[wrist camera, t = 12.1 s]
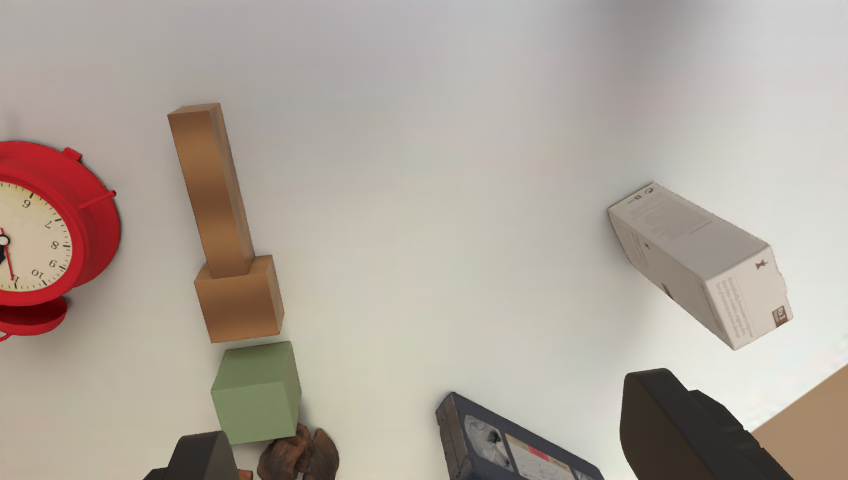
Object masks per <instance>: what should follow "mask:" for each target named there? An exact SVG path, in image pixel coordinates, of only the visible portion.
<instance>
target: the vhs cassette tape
mask: <svg viewBox="0 0 848 480" xmlns="http://www.w3.org/2000/svg"><path fill="white" fill-rule="evenodd" d="M436 417H437V421H438V425H439V426H440V436H441V441H442V445H443V449H444V454H445V459H446V462H447V467H448V473H449V477H450V480H604V478H603V476H602V474H601V473H600V471H599V469H598V468H597V467H595V466H594V465H592V464H590V463H588V462H586V461H585V460H583V459H581V458H579V457H577V456H575V455H573V454H572V453H570V452H568V451H566V450H564V449H562V448H560V447H559V446H557V445H555V444H553V443H551V442H549V441H547V440H545V439H543V438H541V437H539V436H537V435H536V434H534V433H532V432H530V431H528V430H526V429H524V428H522V427H520V426H519V425H517V424H515V423H513V422H511V421H509V420H507V419H505V418H503V417H501V416H499V415H497V414H495V413H494V412H492V411H490V410H488V409H486V408H484V407H482V406H480V405H478V404H476V403H474V402H472V401H470V400H468V399H466V398H464V397H462V396H460V395H458V394H456V393H455V392H452V393H451V394H450V395H449V396H448V397H447V398H446V399H445V400H444V401H443V402H442V404H441V406H440V408H439V409H437V410H436Z"/></svg>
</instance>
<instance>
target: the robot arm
mask: <svg viewBox="0 0 848 480" xmlns="http://www.w3.org/2000/svg"><path fill="white" fill-rule="evenodd" d="M620 440H621V445H622V449H623V452H624V455H625V457H626V459H627V462H628V463H629V465H630V467H631V468H632V470H633V472H634V473H635V475H636V477H637V478H638V480H794V479H793V478H792V477H791V476H790V475H789V474H788V473H787V472H786V471H785V470H784V469H783V468H782V467H781V466H780V465H779V463H777V461H776V460H775V459H774V458H773V457H772V456H771V455H770V454H769V453H768V452H767V451H766V450H765V449H764V448H761V447H760V445H759V442H758V441H757V440H756V439H755V438H754V437H753V436H752V435H751V434H750V433H749V432H748V431H747V430H744V429H743V425H742V424H741V423H740V422H739V421H738V420H737V419H736V418H735V417H734V416H733V415H732V414H731V413H730V412H729V411H728V410H727V408H726V407H725V406H724V405H722V404H720V403H719V402H717V401H715V400H714V399H712V398H710V397H709V396H707V395H705V394H704V393H702V392H701V391H699V390H692V391H688V390H687V389H686V388H685V387H684V386H683V385H682V384H681V382H680V381H679V380H678V379H677V378H676V377H675V376H674V375H673V373H672V372H671V371H669V370H668V369H666V368H659V369H652V370H645V371H638V372H631V373H628V374H627V375H626V376H625V379H624V388H623V399H622V410H621V420H620ZM143 480H240V477H239V474H238V470H237V467H236V463H235V460H234V457H233V453H232V450H231V446H230V443H229V440H228V437H227V434H226V433H225V432H224V431H222V430H221V431H214V432H208V433H201V434H194V435H187V436H182V437H181V438H180V439H179V441H178V443H177V445H176V447H175V450H174V452H173V455H172V457H171V460H170V462H169V465H168V467H166V468H159V469H152V470H151V471H150V473H149V474H148V475H147V476H146V477H145V478H144V479H143Z"/></svg>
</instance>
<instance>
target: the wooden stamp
mask: <svg viewBox="0 0 848 480" xmlns="http://www.w3.org/2000/svg"><path fill="white" fill-rule="evenodd" d="M167 116H168V120H169V123H170V127H171V131H172V134H173V138H174V142H175V146H176V149H177V153H178V157H179V160H180V164H181V168H182V171H183V175H184V179H185V182H186V186H187V190H188V193H189V197H190V201H191V204H192V208H193V212H194V215H195V219H196V223H197V227H198V230H199V234H200V238H201V241H202V245H203V249H204V252H205V256H206V260H207V263H205V264H204V266H203V267H202V269H201V271H200V272H199V274H198V276H197V277H196V279H195V281H194V284H195V288H196V291H197V295H198V298H199V302H200V305H201V309H202V312H203V316H204V319H205V323H206V326H207V330H208V333H209V337H210V340H211V343H219V342H227V341H234V340H241V339H249V338H256V337H264V336H271V335H278V334H280V329H281V325H282V321H283V316H284V309H283V304H282V300H281V295H280V291H279V286H278V281H277V277H276V272H275V267H274V263H273V258H272V255H267V256H259V257H255V254H254V250H253V246H252V241H251V237H250V233H249V228H248V224H247V219H246V215H245V211H244V206H243V202H242V198H241V193H240V189H239V185H238V180H237V176H236V172H235V167H234V163H233V159H232V154H231V150H230V146H229V141H228V137H227V133H226V128H225V124H224V120H223V115H222V111H221V107H220V103H213V104H203V105H193V106H183V107H181V108H179V109H177V110H175V111H173V112H172V113H170V114H168V115H167Z"/></svg>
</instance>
